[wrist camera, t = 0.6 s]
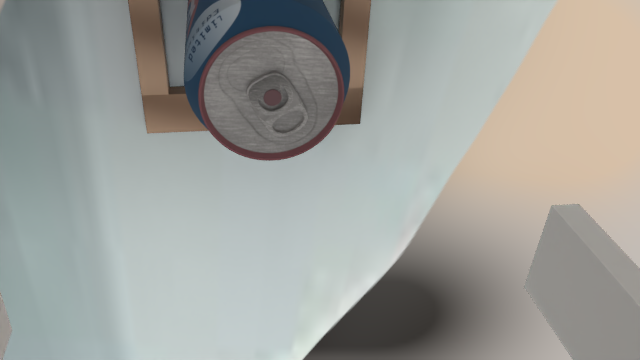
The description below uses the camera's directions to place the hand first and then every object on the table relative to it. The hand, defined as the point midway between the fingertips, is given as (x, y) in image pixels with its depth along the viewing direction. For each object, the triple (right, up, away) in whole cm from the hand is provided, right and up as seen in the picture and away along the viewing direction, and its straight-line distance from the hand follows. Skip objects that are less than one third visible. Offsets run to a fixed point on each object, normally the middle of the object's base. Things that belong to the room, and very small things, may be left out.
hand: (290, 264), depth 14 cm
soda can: (-3, +12, +19) cm, 23 cm away
